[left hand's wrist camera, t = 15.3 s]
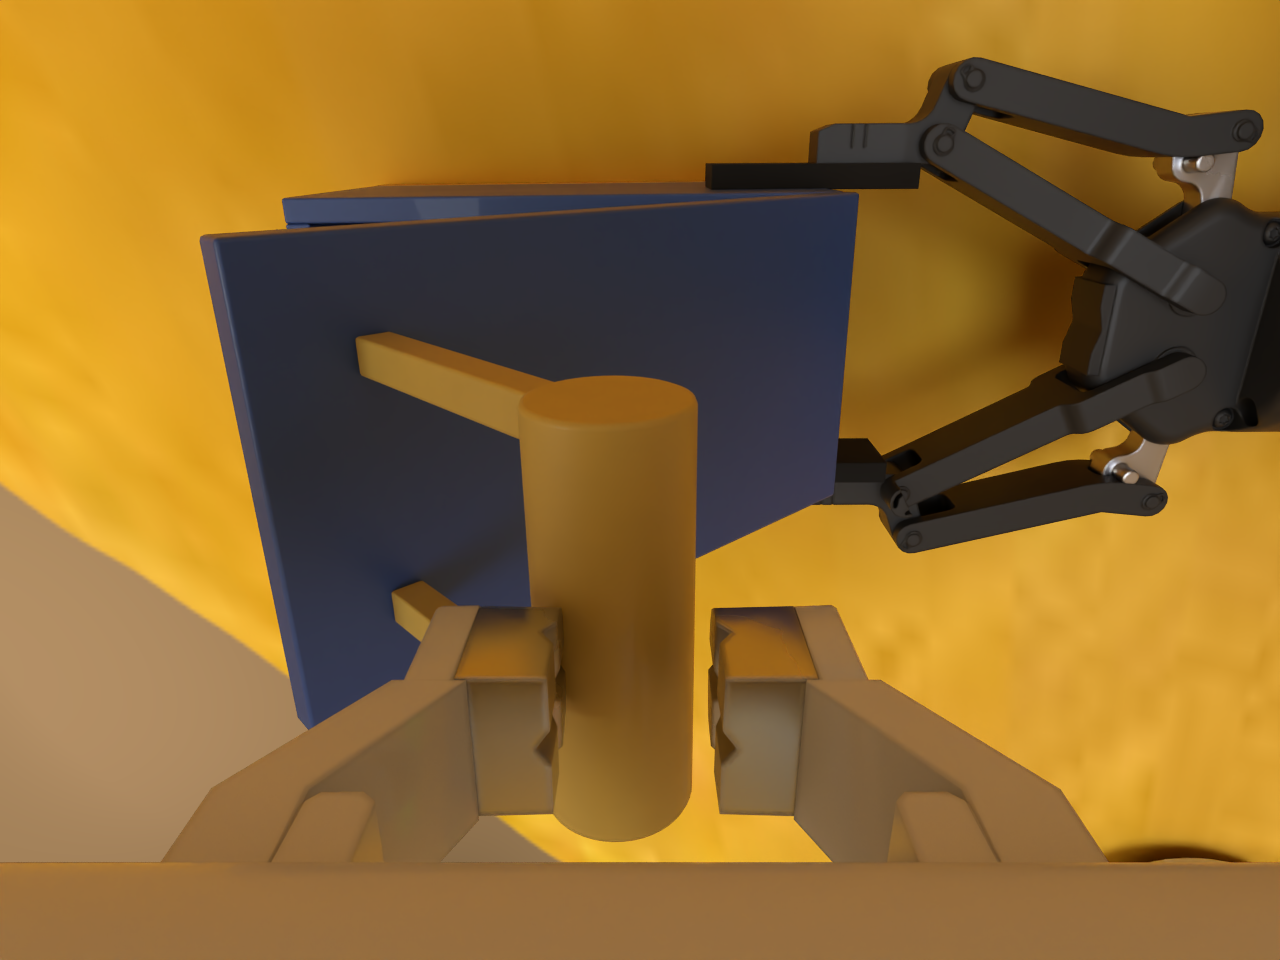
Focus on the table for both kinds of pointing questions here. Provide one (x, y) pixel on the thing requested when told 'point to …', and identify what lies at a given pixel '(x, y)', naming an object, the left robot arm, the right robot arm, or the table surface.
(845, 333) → the lid
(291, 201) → the chest
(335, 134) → the table surface
